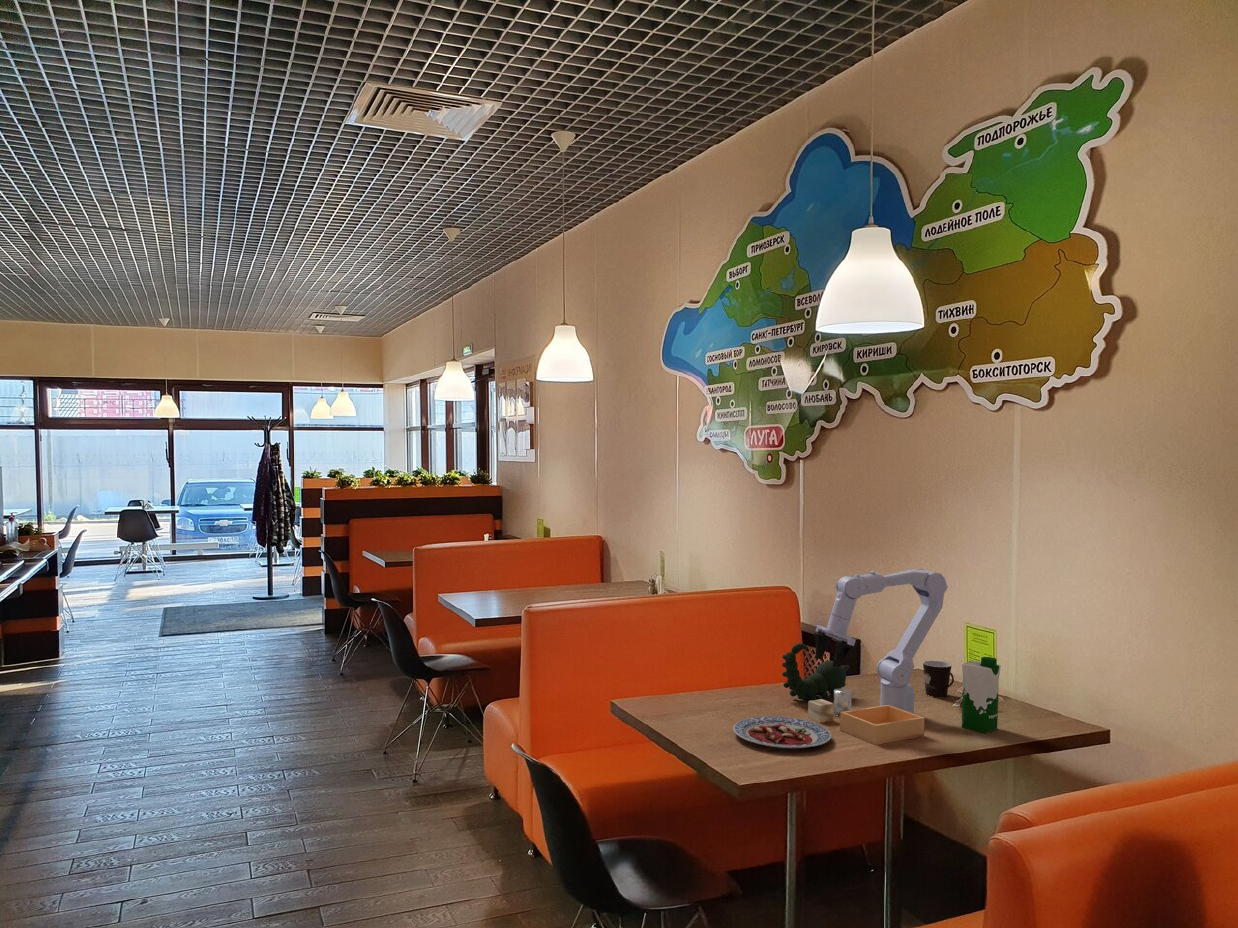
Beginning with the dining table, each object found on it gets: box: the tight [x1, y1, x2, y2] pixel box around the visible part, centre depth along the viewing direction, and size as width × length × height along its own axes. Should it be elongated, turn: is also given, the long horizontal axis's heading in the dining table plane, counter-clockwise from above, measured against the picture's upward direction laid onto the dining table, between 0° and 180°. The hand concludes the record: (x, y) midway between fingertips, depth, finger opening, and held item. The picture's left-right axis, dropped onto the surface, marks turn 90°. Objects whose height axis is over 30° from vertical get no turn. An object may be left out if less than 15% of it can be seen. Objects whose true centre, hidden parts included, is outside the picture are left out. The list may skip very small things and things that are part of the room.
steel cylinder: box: [833, 688, 852, 717], centre depth 265 cm, size 5×5×7 cm
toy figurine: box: [781, 642, 851, 701], centre depth 282 cm, size 9×19×25 cm
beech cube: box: [807, 698, 834, 724], centre depth 260 cm, size 5×5×5 cm
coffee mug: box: [922, 660, 955, 698], centre depth 287 cm, size 12×9×10 cm
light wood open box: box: [839, 705, 925, 746], centre depth 248 cm, size 18×14×5 cm
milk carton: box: [961, 656, 1001, 734], centre depth 254 cm, size 9×9×20 cm
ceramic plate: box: [732, 716, 832, 750], centre depth 242 cm, size 26×26×3 cm
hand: (827, 662), depth 261 cm, fingers open, 7 cm apart
